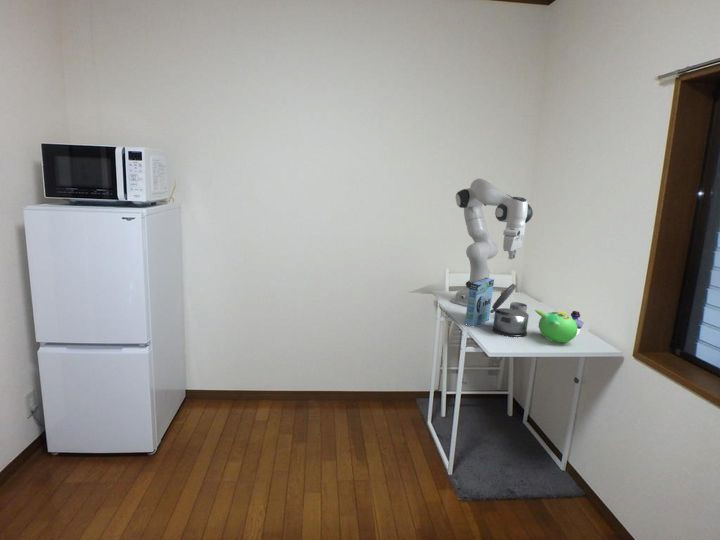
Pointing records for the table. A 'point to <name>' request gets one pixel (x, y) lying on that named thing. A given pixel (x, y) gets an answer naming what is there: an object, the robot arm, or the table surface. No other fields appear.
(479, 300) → the gum box
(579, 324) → the potion bottle
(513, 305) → the cup
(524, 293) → the table surface
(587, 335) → the table surface
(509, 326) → the cooker pot
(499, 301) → the lid
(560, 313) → the toy bird
